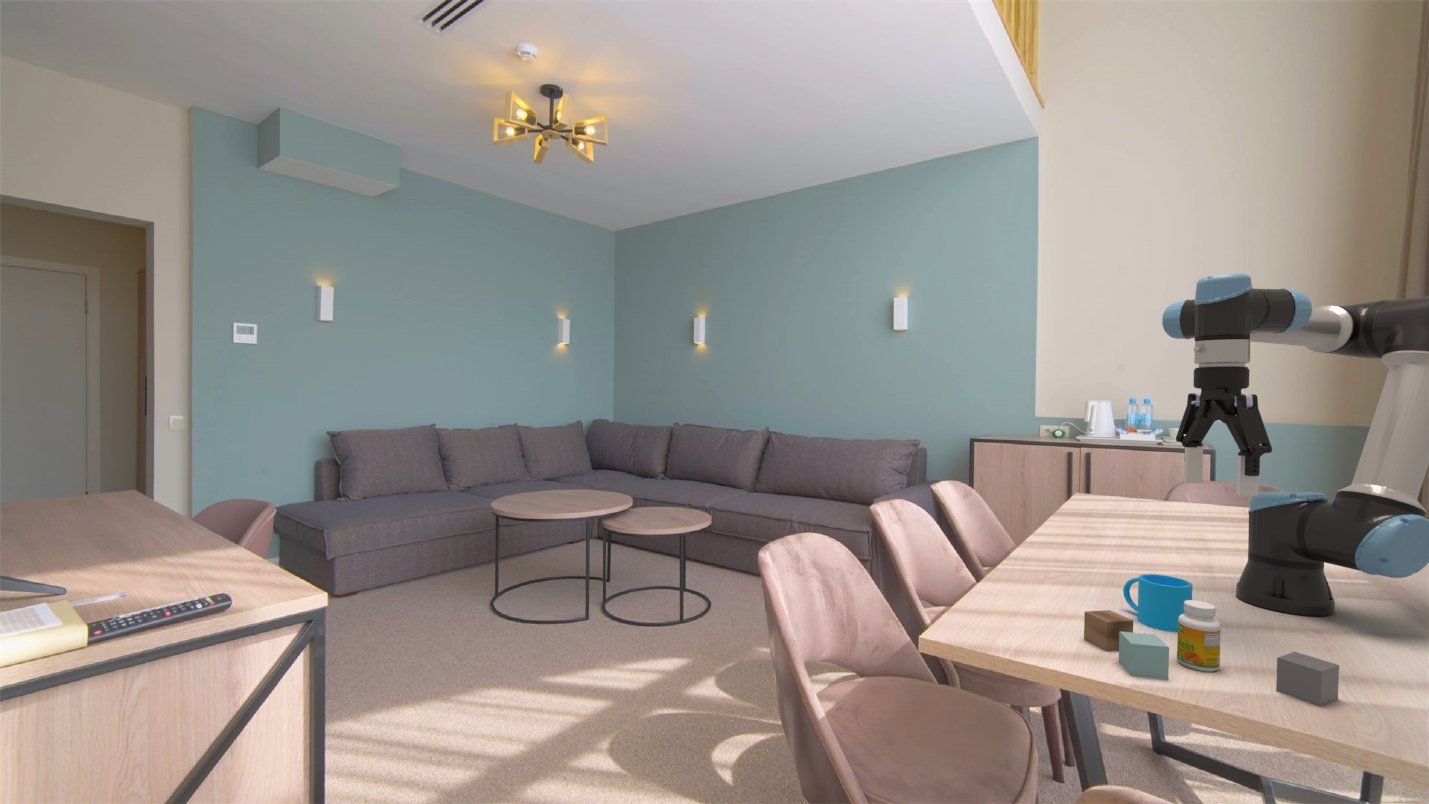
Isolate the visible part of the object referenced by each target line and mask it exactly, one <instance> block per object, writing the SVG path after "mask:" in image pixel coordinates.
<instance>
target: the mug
mask: <svg viewBox="0 0 1429 804" xmlns="http://www.w3.org/2000/svg"><path fill="white" fill-rule="evenodd" d="M1135 583H1138V586H1137V587H1138V588H1137V590H1138V591H1137V604H1136V603H1135V602H1134V601H1133V599H1132V597H1131V592H1130V590H1131V587H1132V585H1133V584H1135ZM1122 592H1123V596H1124V597H1123V598H1124V599H1125V601H1126V603H1127V604H1128V606H1129V607H1130V608H1131V609H1132V610H1134V611H1135V612H1136V613H1137V616H1136V617H1137V621H1138V623H1140V624H1141V625H1144V626H1146V627H1148V628H1152V629H1154V630H1155V629H1156V630H1159V631H1164V632H1170V633H1178V618H1179V616H1180V615H1181V614H1184V613H1186V612H1185V611H1184V601H1186V600H1193V584H1192V583H1191V581H1188V580H1185V579H1183V578H1180V577H1175V576H1169V575H1163V574H1156V573H1155V574H1153V573H1149V574H1148V573H1146V574H1145V573H1144V574H1141V575H1139V576H1138V577H1133V578H1131V579H1128V580H1127V581H1126V583H1124V585H1123V589H1122Z"/></svg>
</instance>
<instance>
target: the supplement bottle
mask: <svg viewBox="0 0 1429 804" xmlns="http://www.w3.org/2000/svg"><path fill="white" fill-rule="evenodd" d="M1216 610H1217V609H1216V606H1215V605H1214V604H1212V603H1209V602H1206V601H1203V600H1202V601H1201V600H1194V599H1192V600H1186V601H1184V611H1185V612H1186V613H1184V614H1181V615H1180V616H1179V618H1178V632H1177V641H1176V642H1177V646H1176V659H1177V662H1178V663H1179V664H1181V665H1183V666H1184V667H1186V668H1190V669H1193V670H1196V671H1200V672H1205V673H1206V672H1207V673H1209V672H1210V673H1212V672H1216V671H1218V670H1220V665H1221V664H1220V660H1221V659H1220V658H1221V632H1222V631H1221V630H1222V629H1221V626H1222V625H1221V623H1220V622H1219V621H1218V620H1217V619H1216V618H1214V617H1215V616H1216Z"/></svg>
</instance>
